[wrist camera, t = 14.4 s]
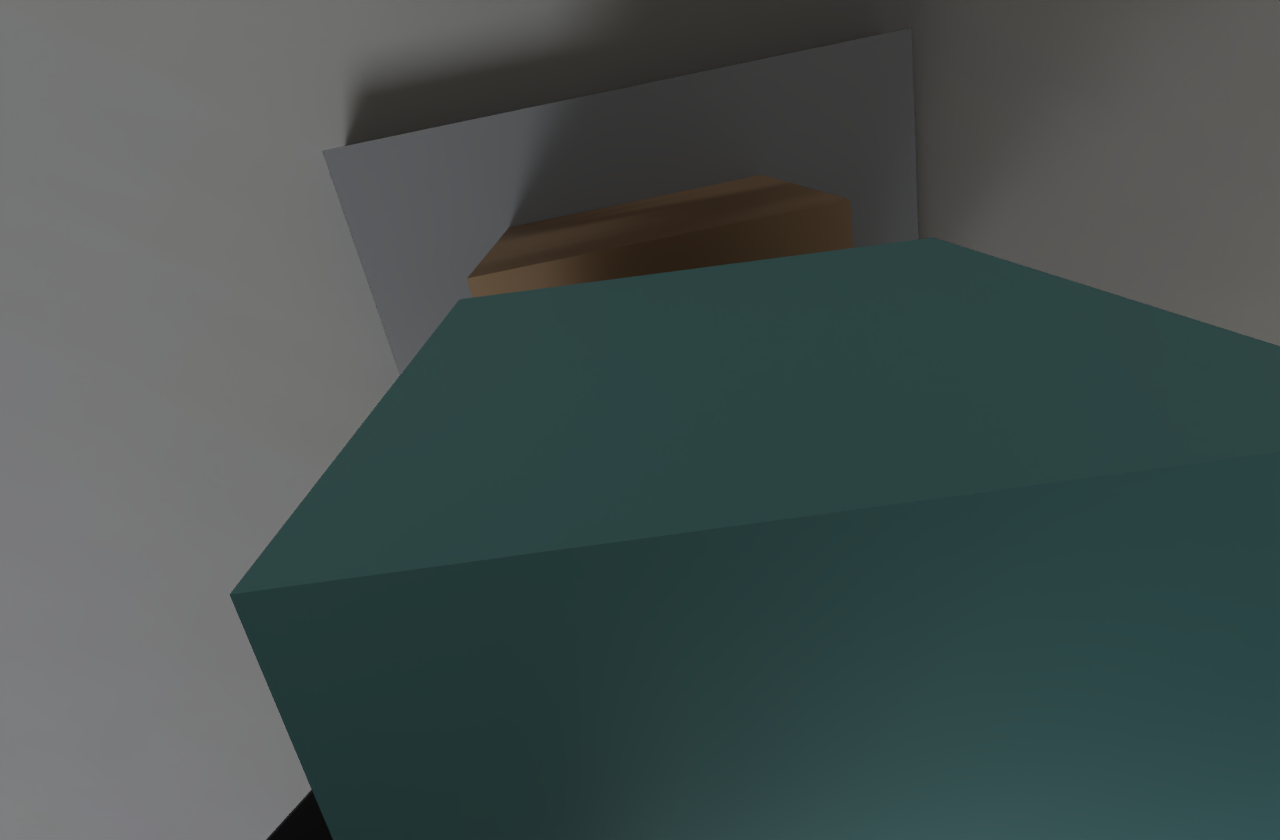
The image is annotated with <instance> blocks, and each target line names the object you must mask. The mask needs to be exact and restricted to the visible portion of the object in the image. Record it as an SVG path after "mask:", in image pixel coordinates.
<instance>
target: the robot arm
mask: <svg viewBox="0 0 1280 840" xmlns="http://www.w3.org/2000/svg"><path fill="white" fill-rule="evenodd" d="M266 840H333V838H332V836H331V834H330V831H329V829H328V827H327V824H326V822H325V819H324V817H323V815H322V812H321V810H320V808H319V805H318V803H317V800H316V798H315V796H314V793H313V791H312V790H311V791H310V792H309V793H308V794H307V795H306V796H305V798H304V799H303V800H302V801H301V802H300V803H299V804H298V805H297V806H296V807H295V809H294V810H293V811H292V812H291V813H290V814H289V815H288V816H287V817H286V819H285V820H284V821H283V822H282V823H281V824H280V825H279V826H278V827H277V828H276V830H275V831H274V832H273V833H272V834H271V835H270V836H269V837H268V838H267V839H266Z"/></svg>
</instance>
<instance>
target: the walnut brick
mask: <svg viewBox="0 0 1280 840" xmlns="http://www.w3.org/2000/svg"><path fill="white" fill-rule="evenodd" d="M849 248H853V234H852V220H851V206H850V199H847V198H844V197H840V196H837V195H833V194H829V193H826V192H822V191H819V190H815V189H811V188H808V187H804V186H801V185H797V184H793V183H790V182H786V181H783V180H779V179H775V178H772V177H768V176H765V175H758V176H753V177H749V178H744V179H739V180H734V181H729V182H724V183H720V184H715V185H710V186H705V187H700V188H696V189H691V190H686V191H681V192H676V193H672V194H667V195H662V196H657V197H652V198H647V199H643V200H638V201H633V202H628V203H623V204H619V205H614V206H609V207H604V208H599V209H595V210H590V211H585V212H580V213H575V214H570V215H566V216H561V217H556V218H551V219H546V220H542V221H537V222H532V223H527V224H522V225H518V226H513V227H509V228H508V229H507V230H506V232H505V233H504V234H503V235H502V236H501V238H500V239H499V240H498V241H497V242H496V244H495V245H494V246H493V247H492V249H491V250H490V251H489V252H488V253H487V255H486V256H485V257H484V258H483V259H482V261H481V262H480V263H479V264H478V265H477V267H476V268H475V269H474V270H473V272H472V273H471V274H470V275H469V276H468V278H467V281H468V285H469V288H470V291H471V295H472V298H473V297H481V296H488V295H496V294H504V293H511V292H519V291H527V290H534V289H542V288H550V287H557V286H565V285H573V284H580V283H588V282H596V281H604V280H611V279H619V278H627V277H634V276H642V275H650V274H657V273H665V272H673V271H680V270H688V269H696V268H703V267H711V266H719V265H726V264H734V263H742V262H749V261H757V260H765V259H772V258H780V257H788V256H796V255H803V254H811V253H819V252H826V251H834V250H842V249H849Z"/></svg>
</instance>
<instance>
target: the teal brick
mask: <svg viewBox="0 0 1280 840" xmlns="http://www.w3.org/2000/svg"><path fill="white" fill-rule="evenodd" d="M230 596H231V599H232V601H233V604H234V606H235V608H236V611H237V613H238V615H239V618H240V620H241V623H242V625H243V627H244V630H245V632H246V634H247V637H248V639H249V642H250V644H251V646H252V649H253V651H254V653H255V656H256V658H257V661H258V663H259V665H260V668H261V670H262V672H263V675H264V677H265V679H266V682H267V684H268V687H269V689H270V691H271V694H272V696H273V698H274V701H275V703H276V706H277V708H278V710H279V713H280V715H281V717H282V720H283V722H284V725H285V727H286V729H287V732H288V734H289V736H290V739H291V741H292V744H293V746H294V748H295V751H296V753H297V755H298V758H299V760H300V763H301V765H302V767H303V770H304V772H305V774H306V777H307V779H308V781H309V784H310V786H311V789H312V791H313V793H314V796H315V798H316V800H317V803H318V805H319V808H320V810H321V812H322V815H323V817H324V819H325V822H326V824H327V827H328V829H329V831H330V834H331V836H332V838H333V840H1280V346H1277V345H1274V344H1271V343H1267V342H1264V341H1261V340H1258V339H1255V338H1252V337H1248V336H1245V335H1242V334H1239V333H1236V332H1232V331H1229V330H1226V329H1223V328H1220V327H1217V326H1213V325H1210V324H1207V323H1204V322H1201V321H1197V320H1194V319H1191V318H1188V317H1185V316H1181V315H1178V314H1175V313H1172V312H1169V311H1166V310H1162V309H1159V308H1156V307H1153V306H1150V305H1146V304H1143V303H1140V302H1137V301H1134V300H1131V299H1127V298H1124V297H1121V296H1118V295H1115V294H1111V293H1108V292H1105V291H1102V290H1099V289H1095V288H1092V287H1089V286H1086V285H1083V284H1080V283H1076V282H1073V281H1070V280H1067V279H1064V278H1060V277H1057V276H1054V275H1051V274H1048V273H1045V272H1041V271H1038V270H1035V269H1032V268H1029V267H1025V266H1022V265H1019V264H1016V263H1013V262H1010V261H1006V260H1003V259H1000V258H997V257H994V256H990V255H987V254H984V253H981V252H978V251H974V250H971V249H968V248H965V247H962V246H959V245H955V244H952V243H949V242H946V241H943V240H939V239H936V238H926V239H918V240H911V241H903V242H895V243H888V244H880V245H872V246H865V247H857V248H849V249H842V250H834V251H826V252H819V253H811V254H803V255H796V256H788V257H780V258H772V259H765V260H757V261H749V262H742V263H734V264H726V265H719V266H711V267H703V268H696V269H688V270H680V271H673V272H665V273H657V274H650V275H642V276H634V277H627V278H619V279H611V280H604V281H596V282H588V283H580V284H573V285H565V286H557V287H550V288H542V289H534V290H527V291H519V292H511V293H504V294H496V295H488V296H481V297H473V298H465V299H459V300H458V302H457V303H456V304H455V306H454V307H453V308H452V309H451V311H450V312H449V313H448V315H447V316H446V317H445V318H444V320H443V321H442V322H441V324H440V325H439V326H438V327H437V329H436V330H435V331H434V333H433V334H432V335H431V336H430V338H429V339H428V340H427V342H426V343H425V344H424V345H423V347H422V348H421V349H420V351H419V352H418V353H417V354H416V356H415V357H414V358H413V360H412V361H411V362H410V363H409V365H408V366H407V367H406V369H405V370H404V371H403V372H402V374H401V375H400V376H399V378H398V379H397V380H396V381H395V383H394V384H393V385H392V386H391V388H390V389H389V390H388V392H387V393H386V394H385V395H384V397H383V398H382V399H381V401H380V402H379V403H378V404H377V406H376V407H375V408H374V410H373V411H372V412H371V413H370V415H369V416H368V417H367V419H366V420H365V421H364V422H363V424H362V425H361V426H360V428H359V429H358V430H357V431H356V433H355V434H354V435H353V437H352V438H351V439H350V440H349V442H348V443H347V444H346V446H345V447H344V448H343V449H342V451H341V452H340V453H339V455H338V456H337V457H336V458H335V460H334V461H333V462H332V464H331V465H330V466H329V467H328V469H327V470H326V471H325V473H324V474H323V475H322V476H321V478H320V479H319V480H318V482H317V483H316V484H315V485H314V487H313V488H312V489H311V491H310V492H309V493H308V494H307V496H306V497H305V498H304V500H303V501H302V502H301V503H300V505H299V506H298V507H297V509H296V510H295V511H294V512H293V514H292V515H291V516H290V518H289V519H288V520H287V521H286V523H285V524H284V525H283V527H282V528H281V529H280V530H279V532H278V533H277V534H276V536H275V537H274V538H273V539H272V541H271V542H270V543H269V545H268V546H267V547H266V548H265V550H264V551H263V552H262V554H261V555H260V556H259V557H258V559H257V560H256V561H255V563H254V564H253V565H252V566H251V568H250V569H249V570H248V572H247V573H246V574H245V575H244V577H243V578H242V579H241V581H240V582H239V583H238V584H237V586H236V587H235V588H234V590H233V591H232V592H231V593H230Z"/></svg>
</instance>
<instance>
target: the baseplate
mask: <svg viewBox="0 0 1280 840" xmlns="http://www.w3.org/2000/svg"><path fill="white" fill-rule="evenodd" d="M322 152H323V155H324V157H325V160H326V163H327V166H328V169H329V172H330V175H331V178H332V180H333V183H334V186H335V189H336V192H337V195H338V198H339V201H340V203H341V206H342V209H343V212H344V215H345V218H346V221H347V224H348V226H349V229H350V232H351V235H352V238H353V241H354V244H355V247H356V249H357V252H358V255H359V258H360V261H361V264H362V267H363V270H364V272H365V275H366V278H367V281H368V284H369V287H370V290H371V293H372V295H373V298H374V301H375V304H376V307H377V310H378V313H379V316H380V318H381V321H382V324H383V327H384V330H385V333H386V336H387V339H388V341H389V344H390V347H391V350H392V353H393V356H394V359H395V362H396V364H397V367H398V370H399V373H400V375H401V374H402V372H403V371H404V370H405V369H406V367H407V366H408V365H409V363H410V362H411V361H412V360H413V358H414V357H415V356H416V354H417V353H418V352H419V351H420V349H421V348H422V347H423V345H424V344H425V343H426V342H427V340H428V339H429V338H430V336H431V335H432V334H433V333H434V331H435V330H436V329H437V327H438V326H439V325H440V324H441V322H442V321H443V320H444V318H445V317H446V316H447V315H448V313H449V312H450V311H451V309H452V308H453V307H454V306H455V304H456V303H457V302H458V300H459V299H465V298H472V295H471V291H470V288H469V285H468V281H467V278H468V276H469V275H470V274H471V273H472V272H473V270H474V269H475V268H476V267H477V265H478V264H479V263H480V262H481V261H482V259H483V258H484V257H485V256H486V255H487V253H488V252H489V251H490V250H491V249H492V247H493V246H494V245H495V244H496V242H497V241H498V240H499V239H500V238H501V236H502V235H503V234H504V233H505V232H506V230H507V229H508V228H509V227H513V226H518V225H522V224H527V223H532V222H537V221H542V220H546V219H551V218H556V217H561V216H566V215H570V214H575V213H580V212H585V211H590V210H595V209H599V208H604V207H609V206H614V205H619V204H623V203H628V202H633V201H638V200H643V199H647V198H652V197H657V196H662V195H667V194H672V193H676V192H681V191H686V190H691V189H696V188H700V187H705V186H710V185H715V184H720V183H724V182H729V181H734V180H739V179H744V178H749V177H753V176H758V175H765V176H768V177H772V178H775V179H779V180H783V181H786V182H790V183H793V184H797V185H801V186H804V187H808V188H811V189H815V190H819V191H822V192H826V193H829V194H833V195H837V196H840V197H844V198H847V199H850V206H851V220H852V234H853V248H857V247H865V246H872V245H880V244H888V243H895V242H903V241H911V240H918V239H919V234H918V202H917V170H916V138H915V107H914V75H913V43H912V28H907V29H903V30H898V31H893V32H888V33H883V34H879V35H874V36H869V37H864V38H859V39H855V40H850V41H845V42H840V43H836V44H831V45H826V46H821V47H816V48H812V49H807V50H802V51H797V52H793V53H788V54H783V55H778V56H773V57H769V58H764V59H759V60H754V61H749V62H745V63H740V64H735V65H730V66H726V67H721V68H716V69H711V70H706V71H702V72H697V73H692V74H687V75H683V76H678V77H673V78H668V79H663V80H659V81H654V82H649V83H644V84H639V85H635V86H630V87H625V88H620V89H616V90H611V91H606V92H601V93H596V94H592V95H587V96H582V97H577V98H573V99H568V100H563V101H558V102H553V103H549V104H544V105H539V106H534V107H529V108H525V109H520V110H515V111H510V112H506V113H501V114H496V115H491V116H486V117H482V118H477V119H472V120H467V121H463V122H458V123H453V124H448V125H443V126H439V127H434V128H429V129H424V130H419V131H415V132H410V133H405V134H400V135H396V136H391V137H386V138H381V139H376V140H372V141H367V142H362V143H357V144H353V145H348V146H343V147H338V148H333V149H329V150H324V151H322Z"/></svg>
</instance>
